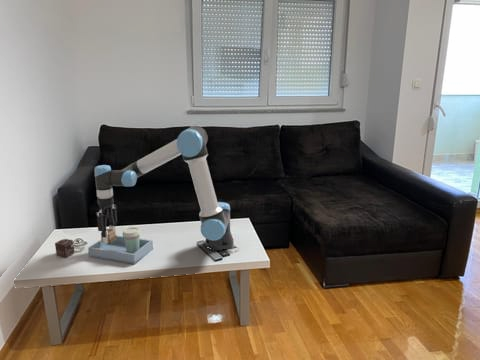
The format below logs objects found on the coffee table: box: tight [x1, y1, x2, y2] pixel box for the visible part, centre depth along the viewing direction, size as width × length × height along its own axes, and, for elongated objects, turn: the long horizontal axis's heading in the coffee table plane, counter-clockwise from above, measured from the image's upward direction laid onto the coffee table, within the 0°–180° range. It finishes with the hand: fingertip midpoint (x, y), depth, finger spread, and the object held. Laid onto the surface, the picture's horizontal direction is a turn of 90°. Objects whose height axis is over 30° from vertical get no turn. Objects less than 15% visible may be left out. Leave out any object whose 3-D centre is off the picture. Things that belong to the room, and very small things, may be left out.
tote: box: [87, 235, 154, 265], centre depth 192 cm, size 26×17×5 cm, turn 73°
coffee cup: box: [122, 226, 141, 254], centre depth 189 cm, size 8×8×12 cm
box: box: [54, 238, 75, 259], centre depth 190 cm, size 6×6×7 cm
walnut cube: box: [100, 228, 117, 243], centre depth 192 cm, size 5×5×5 cm
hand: (109, 239), depth 192 cm, fingers closed on walnut cube, 5 cm apart
